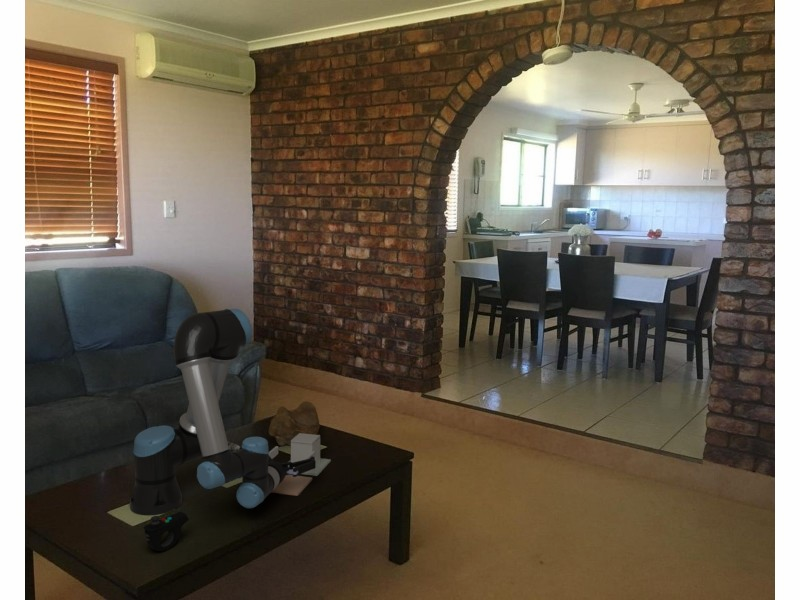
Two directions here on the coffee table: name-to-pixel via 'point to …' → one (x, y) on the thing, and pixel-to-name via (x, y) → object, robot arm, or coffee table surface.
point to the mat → (317, 467)
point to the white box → (305, 447)
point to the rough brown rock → (294, 423)
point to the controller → (164, 530)
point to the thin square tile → (292, 485)
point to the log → (233, 447)
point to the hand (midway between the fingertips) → (295, 452)
